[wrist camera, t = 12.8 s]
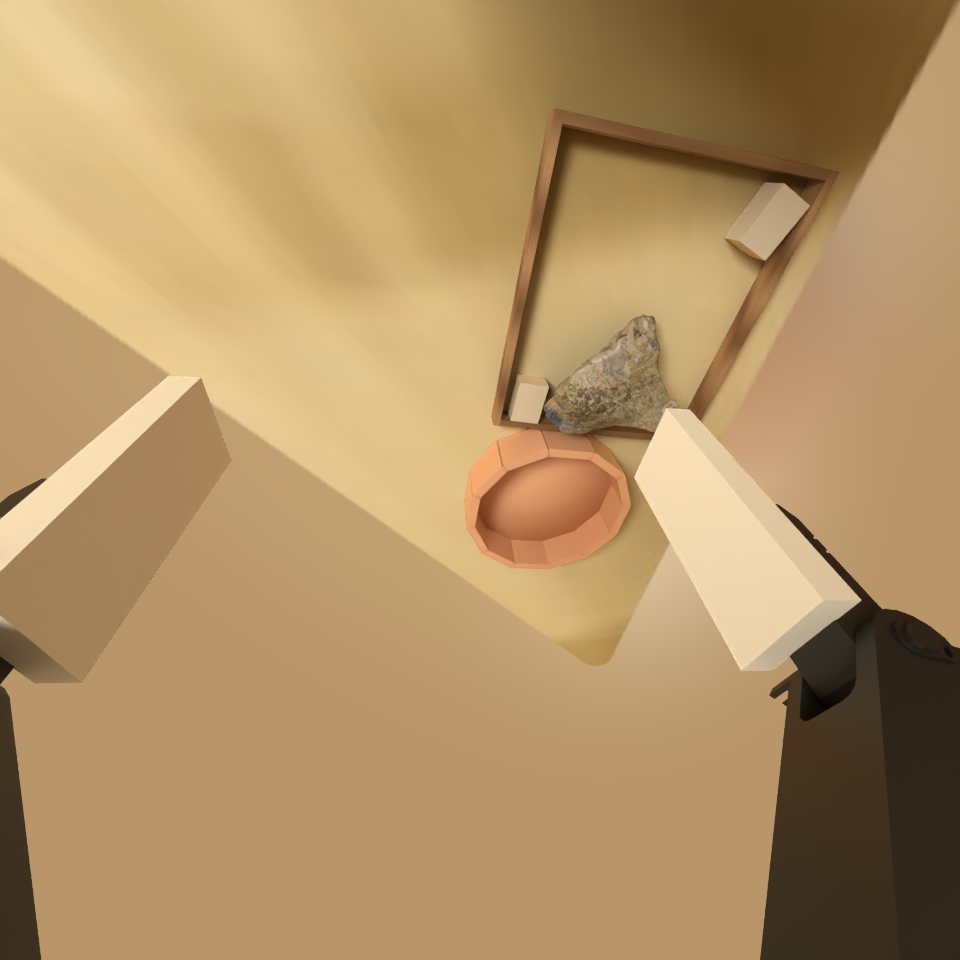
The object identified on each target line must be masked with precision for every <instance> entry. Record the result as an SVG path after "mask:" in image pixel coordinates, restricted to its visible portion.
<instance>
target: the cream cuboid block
mask: <svg viewBox="0 0 960 960" xmlns="http://www.w3.org/2000/svg"><path fill="white" fill-rule="evenodd" d="M548 389H549V386H548V384H547V382H546V380H545V378H542V377H534V376H527V375H520V374H517V375H516V379H515V383H514V387H513V391H512V395H511V399H510V403H509V407H508V414H509V417H510V421H517V422H525V423H534V424H538V422H539V418H540V415H541V412H542V408H543V405H544V402H545V399H546V395H547V392H548Z"/></svg>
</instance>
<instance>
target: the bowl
mask: <svg viewBox="0 0 960 960" xmlns="http://www.w3.org/2000/svg"><path fill="white" fill-rule="evenodd" d="M630 507H631V501H630V496H629V491H628V486H627V481H626V476H625V474H624V472H623V471H622V469H621V467H620V465H619V464H618V462H617V460H616V459H615V457H614V455H613V454H612V452H611V450H610V449H608V448H607V447H606V446H604V445H603V444H602V443H601V442H599V441H598V440H597V439H595V438H594V437H593V436H591V435H590V434H586V433H583V434H573V433H570V434H567V433H564V432H562V431H554V430H543V429H532V428H529V429H527V430H524V431H521V432H518V433H516V434H513V435H510V436H508V437H505V438H502V439H500V440H498V442H497V441H496V442H495V443H494V444H493V445H492V446H491V447H490V449H489V450H488V451H487V452H486V453H485V454H484V455H483V456H482V457H481V458H480V459H479V460H478V461H477V462H476V463H475V465H474V466H473V467H472V468H471V469H470V471H469V477H468V483H467V489H466V495H465V513H466V527H467V530H468V531H469V533H470V535H471V536H472V538H473V540H474V541H475V543H476V545H477V546H478V548H479V550H480V551H481V553H482V554H483V555H486V556H488V557H490V558H492V559H494V560H496V561H498V562H500V563H502V564H505V565H507V566H509V567H511V568H527V569H551V568H555V567H558V566H561V565H565V564H568V563H571V562H574V561H578V560H581V559H584V558H585V557H586V558H587V557H588V556H589V555H591V554H592V553H593V552H595V551H596V550H597V549H599V548H600V547H601V546H603V545H604V544H605V543H607V542H608V541H609V540H611V539H612V538H613V537H615V535H617V533H618V531H619V529H620V527H621V525H622V523H623V521H624V519H625V517H626V515H627V513H628V511H629V509H630Z"/></svg>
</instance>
